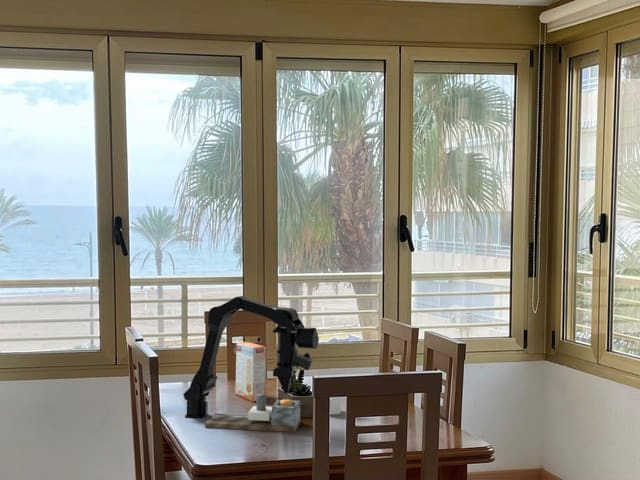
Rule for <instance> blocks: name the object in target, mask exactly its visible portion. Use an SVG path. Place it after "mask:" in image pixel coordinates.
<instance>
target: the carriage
mask: <svg viewBox="0 0 640 480" xmlns="http://www.w3.org/2000/svg"><path fill="white" fill-rule="evenodd" d="M247 415H248V420H263V421H269V420H270V419H271V417H272V406H267V394H266V393H265V394H257V401H256V405H253V406H252V407H251V408H250V409H249V411H248V412H247Z"/></svg>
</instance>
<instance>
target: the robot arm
mask: <svg viewBox="0 0 640 480" xmlns="http://www.w3.org/2000/svg"><path fill="white" fill-rule="evenodd" d="M240 310H241V311H244V312H248V313H252V314H254V315H257V316H261V317H264V318H266V319H269V320H270V321H272V322H273V323H274V324H276V327H275V328H274V329H273V330H272V333H274V334H275V333H276V334H278V349H277V352H276V353H277V354H278V355H277V356H278V358H277V359H278V361H277V362H276V367H275V368H274V369H273V370H272V377H275V378H276V377H277V378H278V380H279V381H278V382H279V383H280V385H281V388H282V390H283V393H284V394H288V393H289V389H290V386H291V382H292V378H293V377H294V376H295V374H296V373H297V371H298V370H294V367H296V368H297V369H299V368H301V369H304V370H305V371H309V370H310V368H311V365H312V363H313V360H314V359H313V358H312V357H311V354H310V353H308V352H305V353H304V354H301V353H298V349H297V348H296V347H298V348H302V349H311V350H312V349H314V350H316V349H317V348H318V346H319V339H320V337H319V334H318V332H317V328H316V327H305V325H304V324H303V322H302V321H301V319H300V317H299V314H298V312H297V310H296V309H295V308H292V307H283V306H282V307H281V306H280V307H279V306H273V305H270V304H267V303H263V302H260V301H257V300H254V299H250V298H248V297H245V296H243V295H239V296H235V297H233V298H232V299H231V300H228V301H227V302H225V303H223V304H221V305H217V306H213V307H211V308H210V309H209V310H208V316H207V326H208V333H207V336H206V342H205V344H204V345H205V346H204V349H203V353H202V356H201V361H200V366H199V368H198V370H197V372H196V373H195V374H194V376H193V378H192V380H191V382H190V385H189V388H188V389H187V390H185V392H184V393H183V399H184V400H185V401H186V414H185V415H184V417H185V418H198V419H199V418H201V419H202V418H204V417H206V415H208V413H209V402H208V401H207V397H208V396H209V394H210V392H211V391H213V389H214V388H216V381H217V379H218V376H217V375H215V374H214V367H215V363H216V360H217V356H218V351H219V348H220V345H221V339H222V336H223V333H224V331H225V329H226V327H227V326H228V324H229V323H230V321H231V318H232V315H234V314H236V313H237V312H238V311H240Z"/></svg>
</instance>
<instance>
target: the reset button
mask: <svg viewBox="0 0 640 480" xmlns="http://www.w3.org/2000/svg"><path fill="white" fill-rule="evenodd" d="M280 400H281V401H280V406H292V399H288V398H287V399H286V398H285V399H280Z"/></svg>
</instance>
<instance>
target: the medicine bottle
mask: <svg viewBox="0 0 640 480" xmlns="http://www.w3.org/2000/svg"><path fill="white" fill-rule="evenodd" d="M341 398H342V397H341ZM341 398H332V399H331V400H330V413H331V415H330V416H333V415H341V411H342V408H341V406H342V405H341V404H342V402H341V401H342V399H341Z"/></svg>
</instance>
